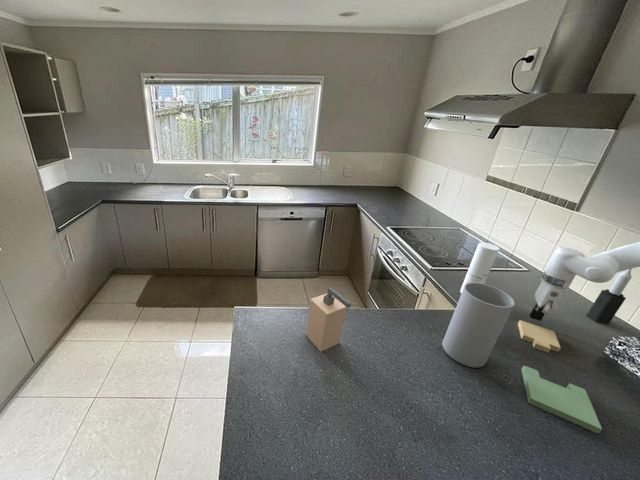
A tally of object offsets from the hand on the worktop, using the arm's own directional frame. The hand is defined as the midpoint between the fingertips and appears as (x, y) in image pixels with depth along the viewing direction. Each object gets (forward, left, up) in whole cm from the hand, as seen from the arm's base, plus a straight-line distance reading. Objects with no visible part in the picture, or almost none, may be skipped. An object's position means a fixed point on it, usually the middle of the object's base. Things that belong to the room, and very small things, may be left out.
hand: (534, 318), depth 111 cm
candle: (-23, -21, -3) cm, 31 cm away
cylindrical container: (+21, -8, -3) cm, 22 cm away
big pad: (0, +39, -3) cm, 39 cm away
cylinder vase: (+23, +36, -3) cm, 43 cm away
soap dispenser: (+63, +61, -3) cm, 88 cm away
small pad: (0, +11, -3) cm, 11 cm away
